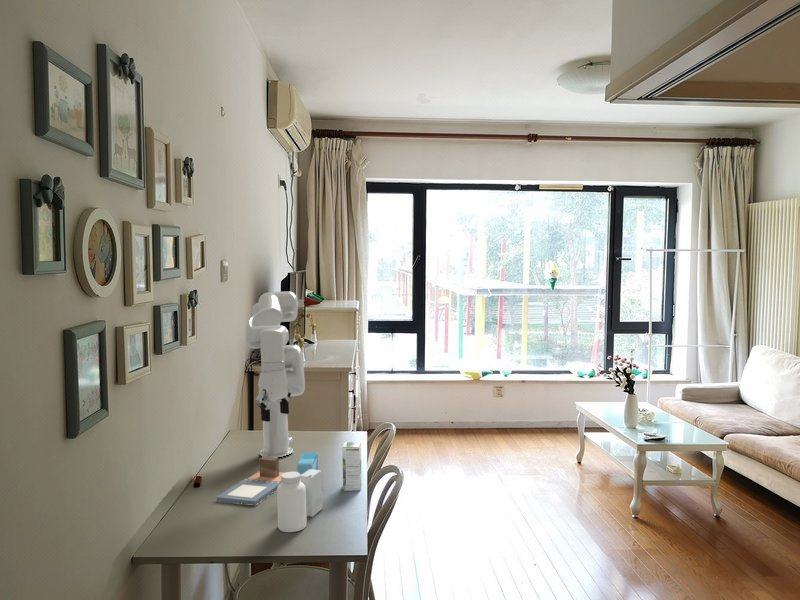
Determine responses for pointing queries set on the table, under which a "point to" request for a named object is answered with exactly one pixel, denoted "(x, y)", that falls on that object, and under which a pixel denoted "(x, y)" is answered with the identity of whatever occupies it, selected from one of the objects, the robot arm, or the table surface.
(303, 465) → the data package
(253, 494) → the board
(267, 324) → the robot arm
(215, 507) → the table surface
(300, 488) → the pill bottle
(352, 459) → the syrup box
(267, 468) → the stub
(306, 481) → the skincare box
